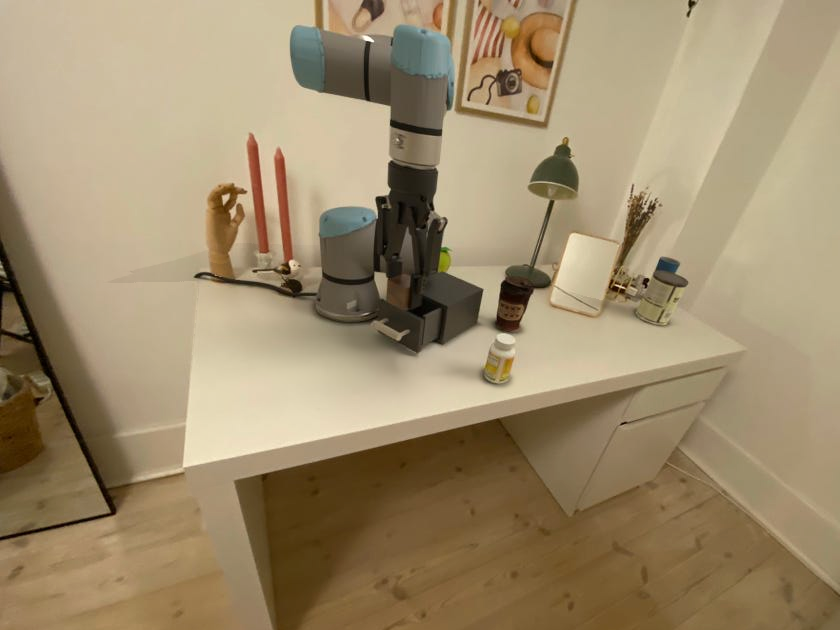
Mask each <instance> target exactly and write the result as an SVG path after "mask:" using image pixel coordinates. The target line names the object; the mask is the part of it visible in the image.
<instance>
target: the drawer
mask: <svg viewBox="0 0 840 630" xmlns="http://www.w3.org/2000/svg"><path fill="white" fill-rule="evenodd" d="M443 314H444V308H442V307H440V306H438V305H436V304H433V303H431V302H429V301H427V300H425V299H423V298H422V302H421V306H419V307H416V308H414V309H412V310H411V309H408V310H406V311H403V310H401V309H399V308H397V307H396V306H394V305H392V304H390V303H388V302H386V299H385V298H381V300H379V309H378V315H377V320H373V321H372V323H371V327H372V328H373V329H375V330H377V333H379V334H381V335H383V336H384V337H386V338H388V339H390V340H392V341H394V342H395V343H397V344H399V345H400V346H403V347H405V348H407V349H408V350H409V351H412V352H413V353H415V354H419V353H421V352H422V347H424V346H425V345H427V344H429V343H431V342H432V341H435V340H434V339H436V338H438V337H439V336H441V329H442V321H443Z"/></svg>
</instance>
